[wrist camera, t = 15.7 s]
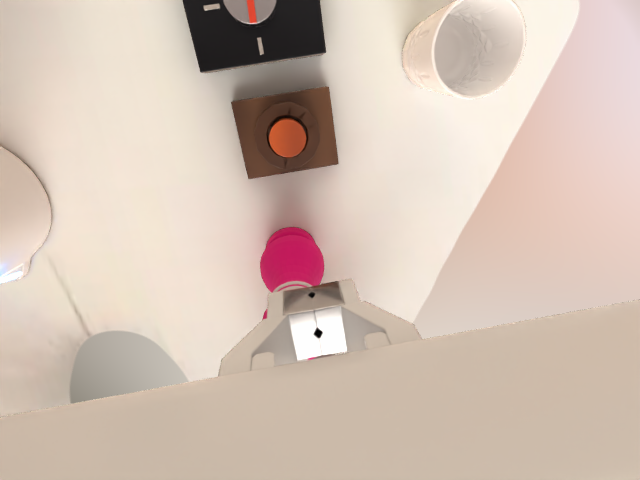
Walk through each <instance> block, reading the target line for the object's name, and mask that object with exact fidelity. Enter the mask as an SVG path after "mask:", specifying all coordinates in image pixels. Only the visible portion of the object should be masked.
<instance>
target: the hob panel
mask: <svg viewBox="0 0 640 480" xmlns="http://www.w3.org/2000/svg"><path fill="white" fill-rule="evenodd" d="M183 4H184V8H185V12H186V16H187V20H188V24H189V28H190V32H191V36H192V40H193V44H194V48H195V52H196V56H197V60H198V64H199V68H200V72H202V73H210V72H217V71H223V70H229V69H236V68H242V67H248V66H255V65H261V64H267V63H274V62H280V61H286V60H293V59H299V58H305V57H312V56H318V55H323V54H324V53H326V48H325V40H324V32H323V24H322V16H321V8H320V0H277V9H276V13H275V15H274V17H273V19H272V20H271V22H270V23H269V24H267V25H266V26H264V27H262V28H260V29H249V28H246V27H243V26H242V25H240V24H239V23H238V22H237V21H236V20H235V19H234V18H233V17H232V15H231V14H230V13H229V11H228V10H227V8H226V6H225V4H224V1H223V0H183Z"/></svg>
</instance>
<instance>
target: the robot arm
mask: <svg viewBox="0 0 640 480" xmlns="http://www.w3.org/2000/svg"><path fill="white" fill-rule="evenodd" d="M51 219H52V218H51V207H50V203H49V199H48V196H47V194H46V192H45V190H44V188H43V186H42V184H41V183H40V181H39V180H38V178H37V177H36V175H35V174H34V173H33V172H32V171H31V169H30V168H29V167H28V166H27V165H26V164H25V163H24V162H22V161H21V160H20V159H19V158H18V157H16V156H15V155H14V154H12V153H11V152H9V151H8V150H6V149H4V148H3V147H1V146H0V283H3V282H6V281H17V280H19V279H21V278H23V277H25V276H26V274H27V273H28V270H29V266H30V261H31V257H32V256H33V254H34V253H35V252H36V251H37V250H38V249H39V248H40V247H41V245H42V244H43V243H44V241H45V240H46V238H47V236H48V234H49V231H50V227H51ZM346 351H347V353H345V354H340V355H334V356H329V357H323V358H318V359H312V360H307V361H302V362H298V360H302V359H307V358H311V357H316V356H321V355H327V354H333V353H340V352H346ZM0 480H640V299H639V300H633V301H628V302H622V303H617V304H612V305H606V306H601V307H595V308H590V309H584V310H579V311H574V312H568V313H563V314H557V315H552V316H546V317H541V318H536V319H530V320H525V321H519V322H514V323H508V324H503V325H497V326H492V327H486V328H481V329H476V330H470V331H465V332H459V333H454V334H449V335H443V336H438V337H432V338H427V339H422V338H421V336H420V334H419V332H418V331H417V329H416V327H415V325H414V324H412V323H410V322H408V321H406V320H403V319H401V318H399V317H397V316H395V315H393V314H391V313H389V312H387V311H385V310H382V309H380V308H378V307H376V306H374V305H372V304H370V303H368V302H366V301H362V302H361V300H360V298H359V295H358V292H357V290H356V287H355V284H354V282H353V279H346V280H342V281H336V282H331V283H326V284H321V285H316V286H310V287H304V288H297V289H291V290H285V291H278V292H273V293H269V295H268V307H267V319H263V320H262V321H261V322H260V323H259V324H258V325H257V326H256V327H255V328H254V329H253V330H251V331H250V332H249V333H248V334H247V335H246V336H245V337H244V338H243V339H242V340H241V341H240V342H239V343H238V344H237V345H236V346H235V347H234V348H233V349H232V350H231V351H230V352H229V353H228V354H227V355H226V356H225V357H224V358H223V359H222V360H221V365H220V369H219V374H218V377H214V378H209V379H203V380H198V381H193V382H187V383H182V384H176V385H171V386H166V387H160V388H155V389H149V390H144V391H139V392H133V393H128V394H122V395H117V396H112V397H106V398H101V399H95V400H90V401H84V402H79V403H73V404H68V405H62V406H57V407H51V408H46V409H40V410H35V411H30V412H24V413H19V414H13V415H8V416H2V417H0Z"/></svg>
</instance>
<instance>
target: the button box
mask: <svg viewBox="0 0 640 480" xmlns="http://www.w3.org/2000/svg"><path fill="white" fill-rule="evenodd" d="M231 104H232V109H233V113H234V117H235V122H236V126H237V131H238V135H239V139H240V144H241V148H242V153H243V157H244V161H245V166H246V170H247V174H248V179H253V178H259V177H265V176H270V175H276V174H282V173H288V172H294V171H300V170H306V169H312V168H318V167H324V166H330V165H336V164H338V156H337V148H336V140H335V132H334V124H333V116H332V108H331V100H330V92H329V87H328V86H325V87H319V88H312V89H306V90H300V91H294V92H288V93H281V94H275V95H269V96H263V97H256V98H250V99H244V100H238V101H233V102H231ZM283 118H291V119H294V120H296V121H298V122H299V123H300V124H301V125H302V127H303V129H304V131H305V134H306V144H305V147H304V148H303V150H302V151H301V152H300V153H299V154H298V155H296V156H293V157H283V156H280V155H278V154H277V153H276V152H275V151H274V150H273V149H272V147H271V145H270V141H269V135H270V130H271V128H272V126H273V125H274V123H275V122H277V121H278V120H280V119H283Z"/></svg>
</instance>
